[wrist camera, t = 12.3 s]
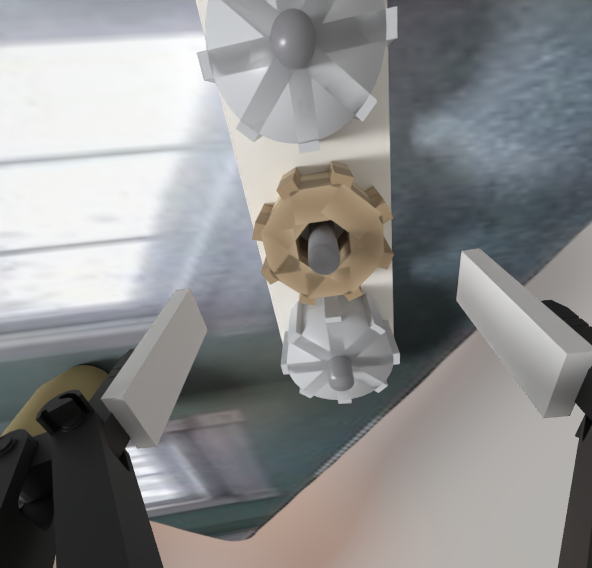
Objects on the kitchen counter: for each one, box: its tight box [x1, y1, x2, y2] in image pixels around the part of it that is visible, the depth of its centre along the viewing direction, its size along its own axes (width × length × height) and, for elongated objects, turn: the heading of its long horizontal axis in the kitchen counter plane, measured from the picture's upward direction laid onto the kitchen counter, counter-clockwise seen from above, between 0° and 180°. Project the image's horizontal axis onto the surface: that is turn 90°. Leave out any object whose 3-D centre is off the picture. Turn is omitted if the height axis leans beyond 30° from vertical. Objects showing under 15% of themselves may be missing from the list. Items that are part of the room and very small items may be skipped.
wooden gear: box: [252, 161, 394, 305], centre depth 23 cm, size 9×9×4 cm
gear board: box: [196, 0, 400, 404], centre depth 22 cm, size 32×11×9 cm, turn 10°
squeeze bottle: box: [0, 365, 108, 437], centre depth 30 cm, size 8×8×18 cm
